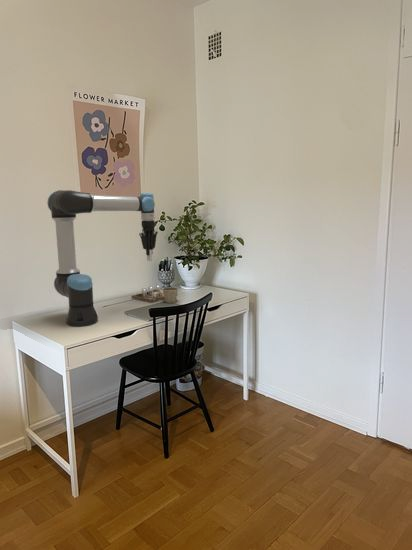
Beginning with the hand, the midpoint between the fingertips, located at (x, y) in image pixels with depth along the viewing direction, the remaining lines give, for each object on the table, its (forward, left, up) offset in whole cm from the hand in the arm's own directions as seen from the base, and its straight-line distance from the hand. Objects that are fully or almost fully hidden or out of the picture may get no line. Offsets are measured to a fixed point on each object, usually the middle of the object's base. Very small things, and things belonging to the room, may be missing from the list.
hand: (149, 260), depth 248 cm
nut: (+6, 0, -23) cm, 24 cm away
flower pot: (+2, -14, -24) cm, 28 cm away
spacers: (+5, 0, -23) cm, 23 cm away
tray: (+4, +1, -24) cm, 24 cm away
